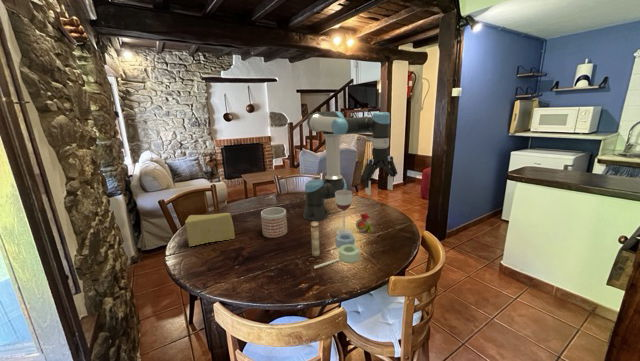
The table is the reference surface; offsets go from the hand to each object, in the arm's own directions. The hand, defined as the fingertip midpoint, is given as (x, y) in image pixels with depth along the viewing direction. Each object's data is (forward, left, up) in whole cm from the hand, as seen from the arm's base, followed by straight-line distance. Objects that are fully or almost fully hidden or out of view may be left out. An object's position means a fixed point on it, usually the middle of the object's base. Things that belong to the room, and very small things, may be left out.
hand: (379, 191), depth 127 cm
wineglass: (-19, -8, -27) cm, 34 cm away
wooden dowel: (-6, -32, -27) cm, 42 cm away
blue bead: (-7, -15, -27) cm, 32 cm away
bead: (+4, -20, -27) cm, 34 cm away
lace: (+4, -31, -27) cm, 41 cm away
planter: (-39, -41, -27) cm, 63 cm away
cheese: (-46, -73, -27) cm, 90 cm away
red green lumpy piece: (-14, +2, -27) cm, 31 cm away
